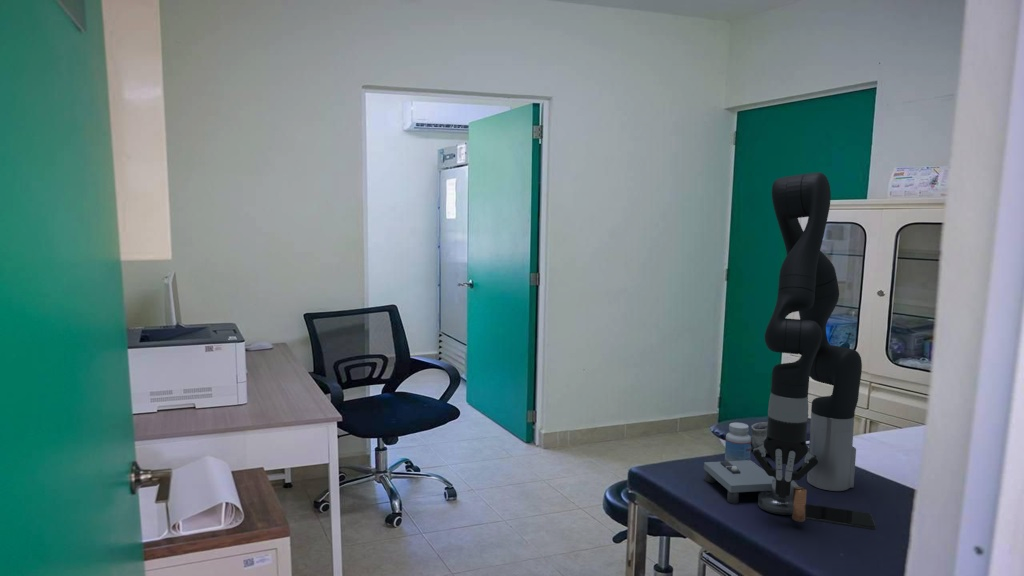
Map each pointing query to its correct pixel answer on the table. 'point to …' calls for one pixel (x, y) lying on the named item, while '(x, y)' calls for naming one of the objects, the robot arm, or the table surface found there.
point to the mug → (759, 434)
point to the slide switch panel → (738, 477)
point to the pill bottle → (738, 443)
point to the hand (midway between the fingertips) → (782, 496)
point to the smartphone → (839, 516)
